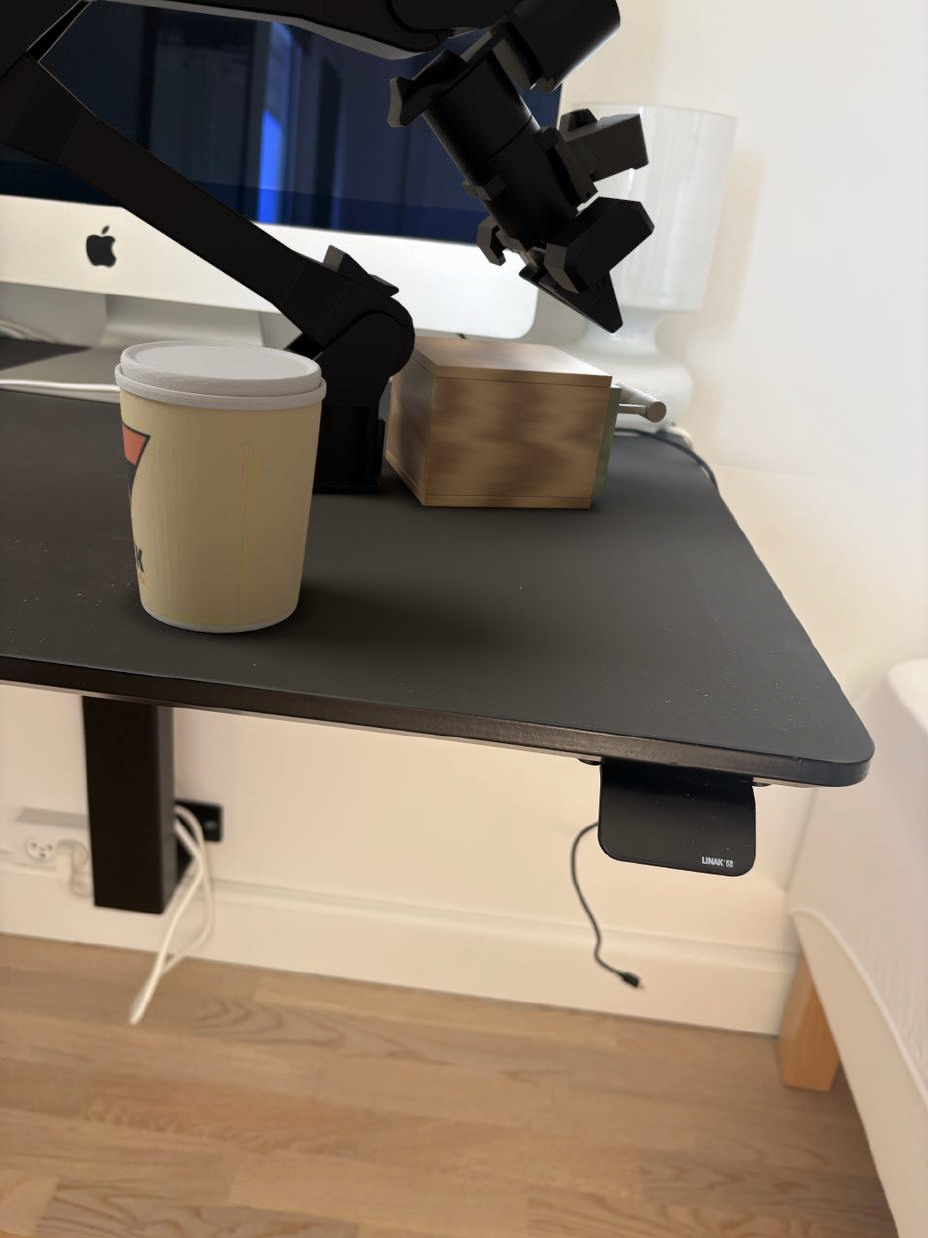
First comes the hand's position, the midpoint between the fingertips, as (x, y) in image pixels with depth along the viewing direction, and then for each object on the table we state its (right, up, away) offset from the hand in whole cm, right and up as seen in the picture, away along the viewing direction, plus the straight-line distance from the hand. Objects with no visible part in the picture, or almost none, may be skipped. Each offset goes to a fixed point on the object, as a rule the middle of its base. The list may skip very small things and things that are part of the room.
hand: (616, 328), depth 71 cm
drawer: (-6, -10, +3) cm, 12 cm away
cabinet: (-10, -11, +2) cm, 15 cm away
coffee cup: (-23, -21, -22) cm, 38 cm away
